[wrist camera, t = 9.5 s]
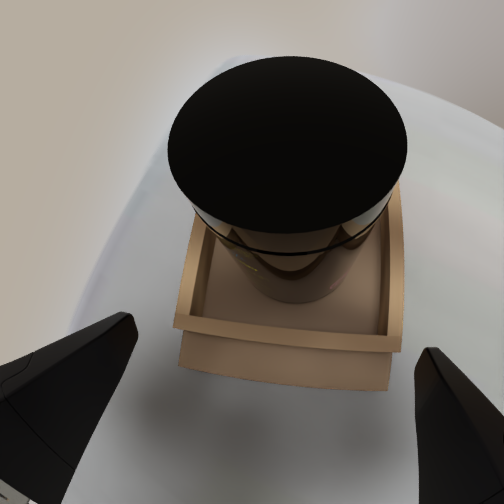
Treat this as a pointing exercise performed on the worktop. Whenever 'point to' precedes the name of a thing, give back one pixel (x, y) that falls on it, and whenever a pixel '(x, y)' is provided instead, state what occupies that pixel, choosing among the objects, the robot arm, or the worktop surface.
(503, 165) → the worktop surface
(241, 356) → the board
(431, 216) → the worktop surface
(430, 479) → the robot arm
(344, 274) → the supplement container
